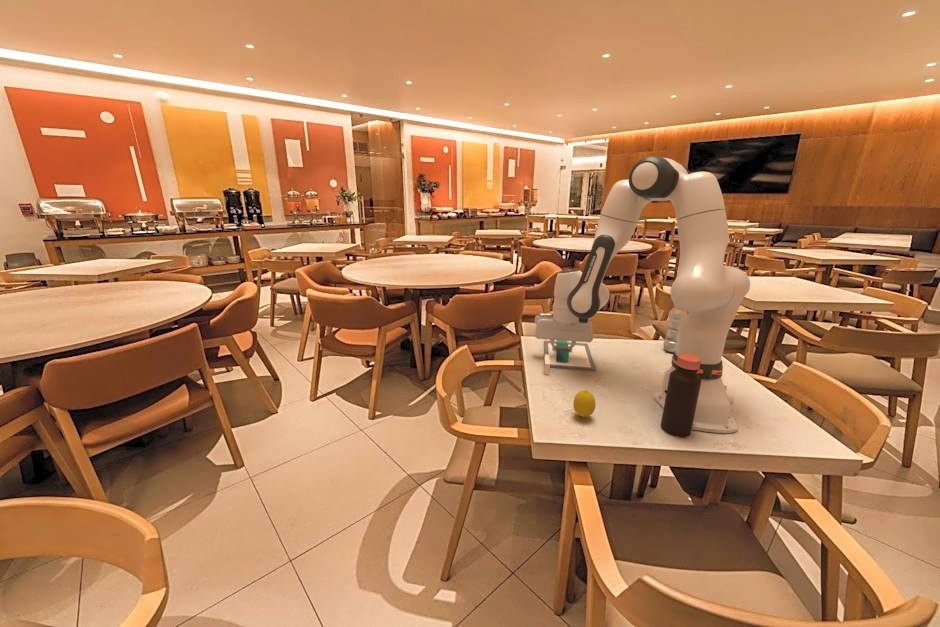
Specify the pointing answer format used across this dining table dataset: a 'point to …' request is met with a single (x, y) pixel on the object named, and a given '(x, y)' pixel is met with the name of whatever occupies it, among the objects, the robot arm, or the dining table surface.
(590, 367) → the writing board
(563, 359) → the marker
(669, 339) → the plastic bottle
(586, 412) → the lemon
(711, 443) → the dining table surface
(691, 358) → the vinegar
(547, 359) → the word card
